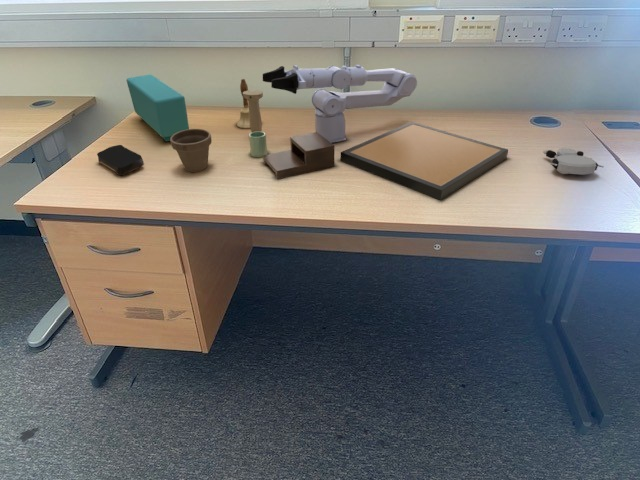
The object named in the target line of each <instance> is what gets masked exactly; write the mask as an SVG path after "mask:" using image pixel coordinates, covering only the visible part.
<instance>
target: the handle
mask: <svg viewBox="0 0 640 480" xmlns="http://www.w3.org/2000/svg"><path fill="white" fill-rule="evenodd" d="M263 93H264V92H263V91H261V90H253V89H251V90H248V91H244V92H243V96H242V98H243V97H244V98H246V99H247V100H248V107H249V121H250V128H249V129H250V133H252V132H256V131H261V132H263V121H262V115H261V109H260V108H261V107H260V99H261V98H263V97H264V94H263Z"/></svg>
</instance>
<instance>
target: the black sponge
mask: <svg viewBox="0 0 640 480" xmlns="http://www.w3.org/2000/svg"><path fill="white" fill-rule="evenodd" d="M96 156H97V159H98V163H99V164H101V165H103V166H105V167H107V168H108V169H110V170H112V171H113V172H115V174H116V175H119V176H124V175H126V174H129V173H130V172H133V171H135V170H137V169H139V168H142V167H144V164H145V162H144V160H143V157H142V155H141V154H139V153H137V152H135V151H133V150H131V149H130V148H129V149H128V148H127V147H125V146H123V145H122V144H115V145H113V146H109V147H106V148H105V149H103V150H100V151H99V152H97V153H96Z"/></svg>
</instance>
